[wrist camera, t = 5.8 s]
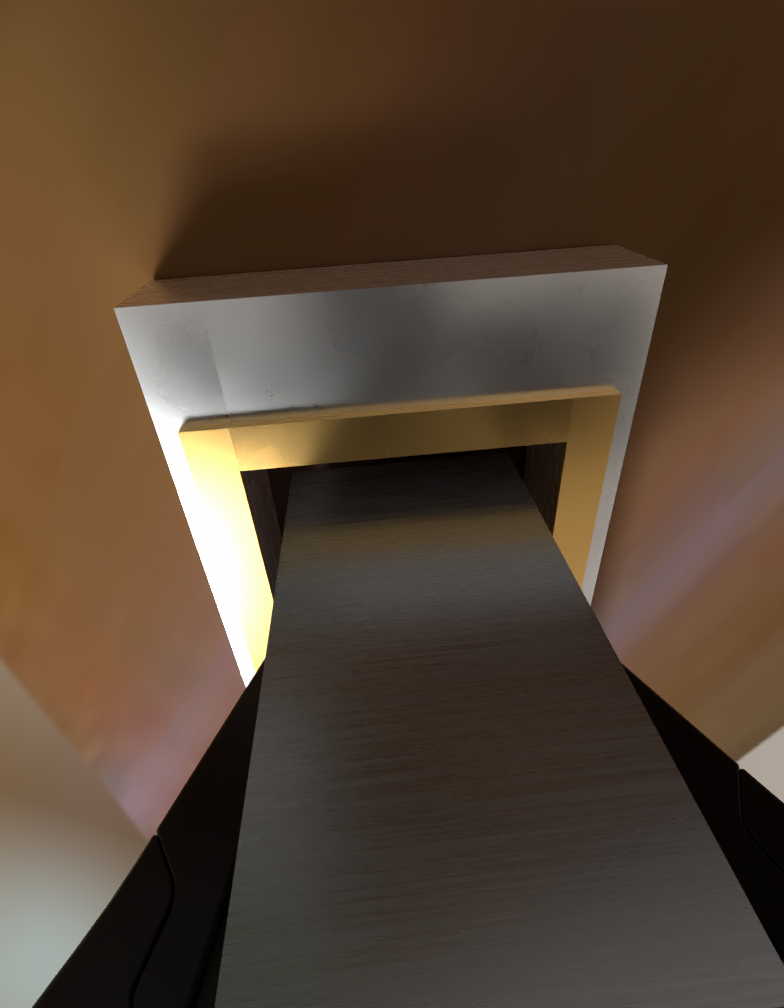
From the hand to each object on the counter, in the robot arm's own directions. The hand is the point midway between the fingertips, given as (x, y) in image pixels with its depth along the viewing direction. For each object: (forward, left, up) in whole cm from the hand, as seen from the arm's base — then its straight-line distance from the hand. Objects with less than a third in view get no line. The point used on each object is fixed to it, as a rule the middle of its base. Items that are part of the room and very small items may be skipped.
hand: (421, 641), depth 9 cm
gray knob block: (0, 0, -3) cm, 3 cm away
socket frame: (-6, 0, -4) cm, 7 cm away
